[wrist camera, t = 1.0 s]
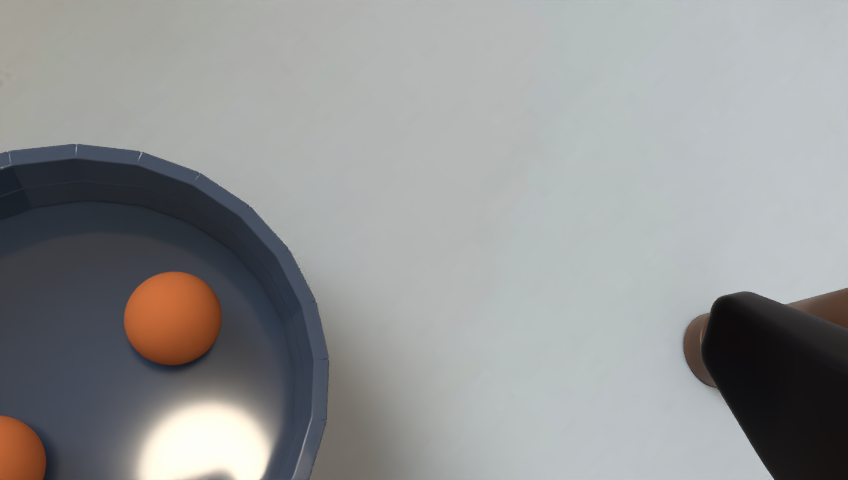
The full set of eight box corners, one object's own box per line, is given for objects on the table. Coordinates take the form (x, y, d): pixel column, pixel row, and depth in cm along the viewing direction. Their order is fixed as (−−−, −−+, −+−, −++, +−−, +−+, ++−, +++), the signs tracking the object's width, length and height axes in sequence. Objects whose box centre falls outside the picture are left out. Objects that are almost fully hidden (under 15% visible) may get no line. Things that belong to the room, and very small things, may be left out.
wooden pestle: (757, 352, 34) (1039, 297, 23) (720, 403, 33) (999, 370, 22) (709, 299, 34) (967, 217, 23) (669, 347, 33) (922, 286, 22)
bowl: (383, 403, 28) (420, 392, 24) (49, 738, 23) (22, 798, 18) (127, 120, 28) (120, 61, 24) (-272, 384, 23) (-371, 365, 18)
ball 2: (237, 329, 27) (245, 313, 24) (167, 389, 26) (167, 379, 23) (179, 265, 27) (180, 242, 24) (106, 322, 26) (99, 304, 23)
